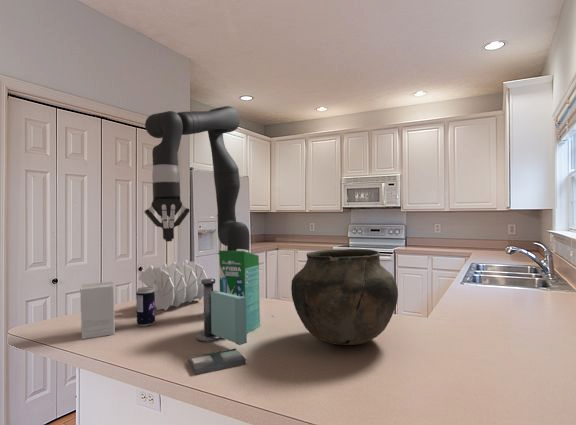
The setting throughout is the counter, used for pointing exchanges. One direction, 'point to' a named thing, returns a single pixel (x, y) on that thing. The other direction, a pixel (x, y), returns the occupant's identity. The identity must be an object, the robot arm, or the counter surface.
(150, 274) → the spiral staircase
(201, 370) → the tray
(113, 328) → the supplement box
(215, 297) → the swing panel
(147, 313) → the beverage can
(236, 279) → the milk carton
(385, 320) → the pot
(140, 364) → the counter surface
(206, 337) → the post
